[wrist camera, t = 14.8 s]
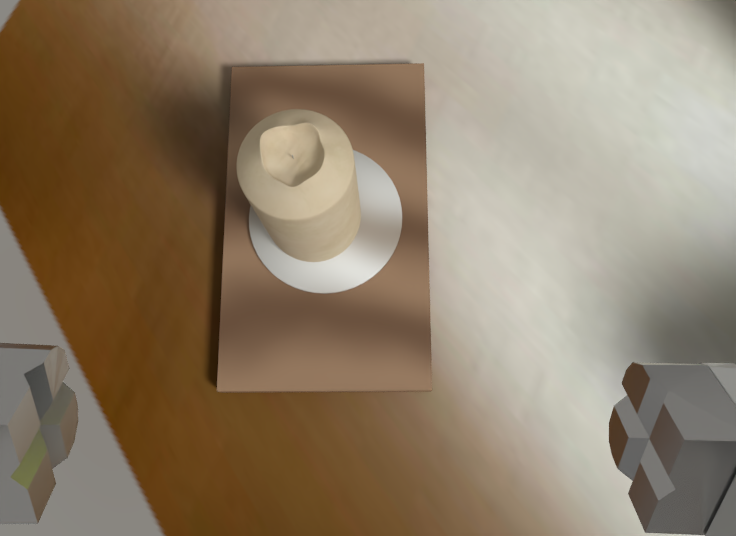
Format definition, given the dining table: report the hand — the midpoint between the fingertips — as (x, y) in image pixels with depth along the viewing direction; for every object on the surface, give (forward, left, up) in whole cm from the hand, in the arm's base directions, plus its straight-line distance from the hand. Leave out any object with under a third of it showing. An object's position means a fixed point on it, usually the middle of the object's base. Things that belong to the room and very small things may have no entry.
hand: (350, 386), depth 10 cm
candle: (+11, +4, -28) cm, 31 cm away
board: (+12, +3, -30) cm, 32 cm away
